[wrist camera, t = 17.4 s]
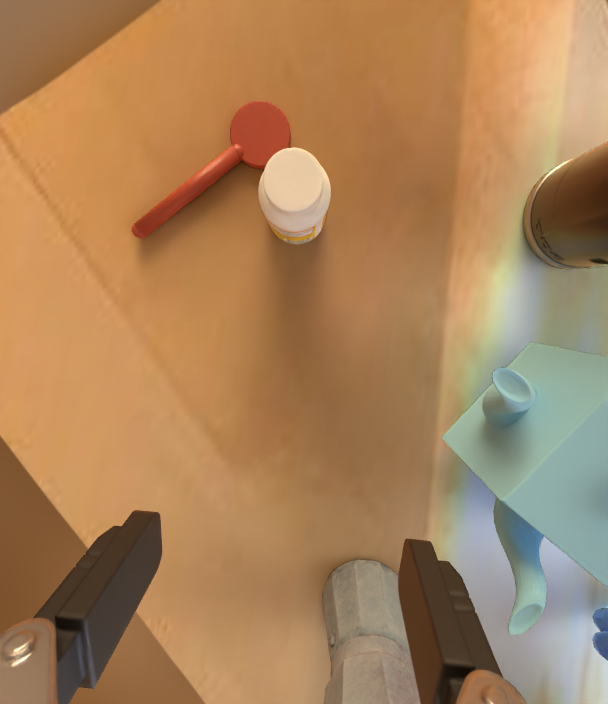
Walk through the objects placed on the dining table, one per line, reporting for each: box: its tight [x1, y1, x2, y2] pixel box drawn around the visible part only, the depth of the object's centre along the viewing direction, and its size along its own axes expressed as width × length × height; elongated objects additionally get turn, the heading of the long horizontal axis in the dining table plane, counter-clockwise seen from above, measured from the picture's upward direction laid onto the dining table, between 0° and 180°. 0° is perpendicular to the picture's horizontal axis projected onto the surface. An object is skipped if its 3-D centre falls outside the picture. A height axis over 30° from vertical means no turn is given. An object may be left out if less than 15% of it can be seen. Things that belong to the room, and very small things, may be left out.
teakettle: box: [441, 342, 608, 635], centre depth 28 cm, size 19×19×15 cm
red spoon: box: [132, 101, 291, 238], centre depth 32 cm, size 17×5×1 cm, turn 126°
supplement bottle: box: [258, 148, 331, 244], centre depth 28 cm, size 5×5×10 cm
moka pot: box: [323, 559, 421, 704], centre depth 29 cm, size 10×15×20 cm, turn 89°
